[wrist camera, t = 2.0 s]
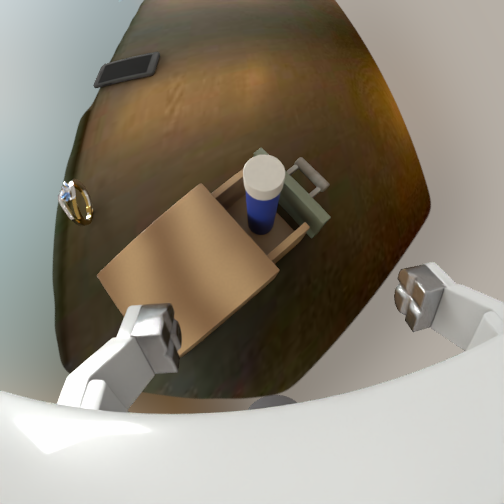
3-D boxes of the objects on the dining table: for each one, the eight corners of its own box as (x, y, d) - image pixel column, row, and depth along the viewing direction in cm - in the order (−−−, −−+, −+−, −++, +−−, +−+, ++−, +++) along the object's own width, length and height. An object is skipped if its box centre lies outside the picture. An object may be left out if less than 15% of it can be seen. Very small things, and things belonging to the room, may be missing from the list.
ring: (83, 194, 39) (56, 174, 31) (98, 188, 39) (73, 166, 32) (84, 234, 38) (54, 219, 30) (101, 228, 38) (72, 212, 30)
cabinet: (212, 208, 38) (201, 182, 30) (274, 278, 36) (280, 270, 28) (127, 282, 37) (96, 275, 28) (183, 355, 35) (163, 368, 26)
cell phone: (154, 75, 44) (153, 72, 43) (93, 89, 44) (92, 87, 43) (161, 53, 45) (160, 51, 44) (103, 66, 45) (101, 64, 44)
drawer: (282, 156, 39) (286, 129, 32) (339, 213, 37) (355, 194, 30) (177, 240, 37) (161, 226, 30) (233, 307, 35) (228, 307, 28)
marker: (279, 224, 36) (294, 174, 22) (259, 241, 35) (262, 199, 22) (261, 204, 36) (265, 147, 23) (241, 221, 36) (234, 170, 22)
